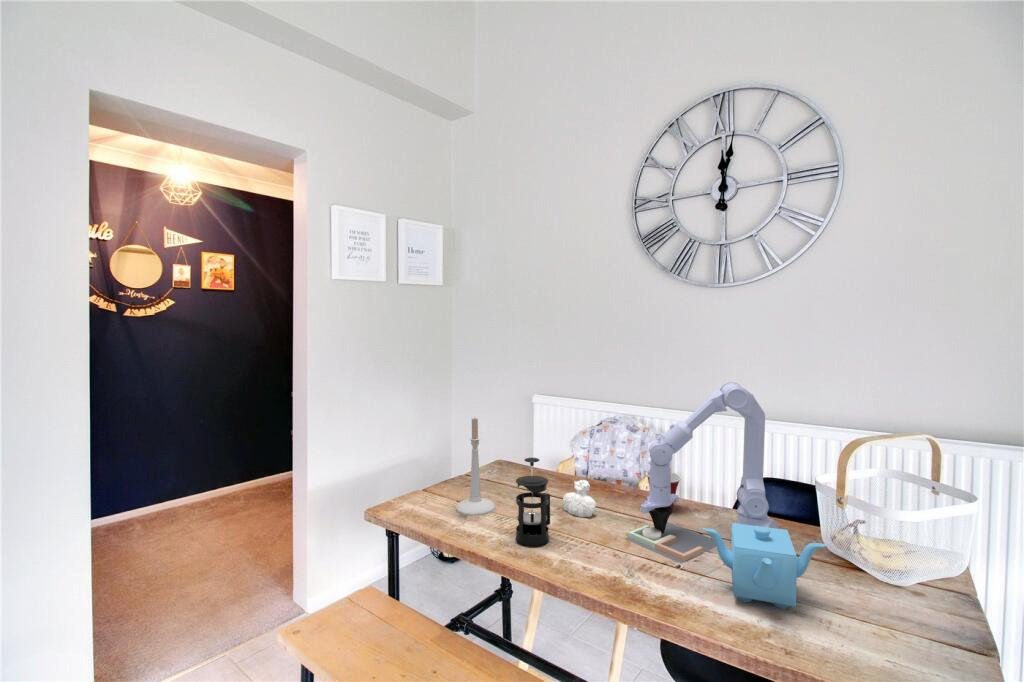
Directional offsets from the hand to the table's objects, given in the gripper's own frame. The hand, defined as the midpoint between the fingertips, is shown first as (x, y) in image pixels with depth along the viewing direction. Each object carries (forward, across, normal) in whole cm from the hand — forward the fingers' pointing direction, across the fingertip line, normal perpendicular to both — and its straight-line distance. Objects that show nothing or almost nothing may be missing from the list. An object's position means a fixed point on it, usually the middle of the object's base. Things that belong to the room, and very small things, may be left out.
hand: (659, 532), depth 143 cm
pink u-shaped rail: (+1, +4, +9) cm, 10 cm away
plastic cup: (+2, -17, -12) cm, 21 cm away
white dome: (+1, +4, 0) cm, 4 cm away
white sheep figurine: (+2, +5, -26) cm, 27 cm away
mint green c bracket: (+1, +4, 0) cm, 4 cm away
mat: (+1, 0, +4) cm, 5 cm away
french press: (+2, +29, -20) cm, 36 cm away
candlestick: (+2, +29, -50) cm, 58 cm away
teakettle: (+2, +7, +32) cm, 33 cm away
